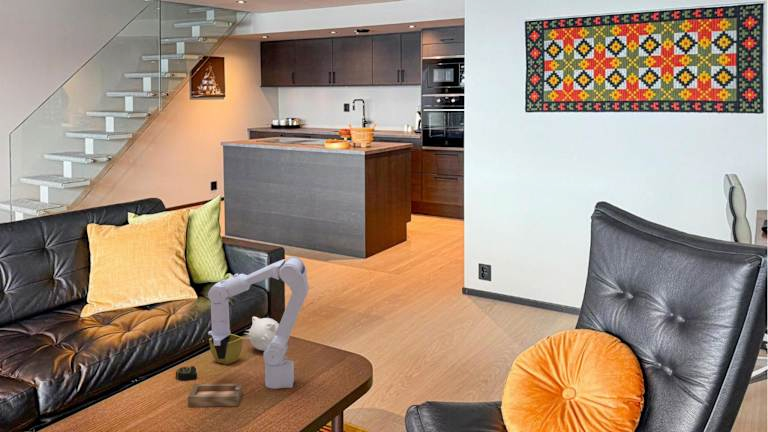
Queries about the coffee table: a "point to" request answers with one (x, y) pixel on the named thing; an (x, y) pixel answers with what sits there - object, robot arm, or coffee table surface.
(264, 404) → the coffee table surface
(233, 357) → the flower pot
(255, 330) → the cat head
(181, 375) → the tape measure
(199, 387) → the wooden tray
